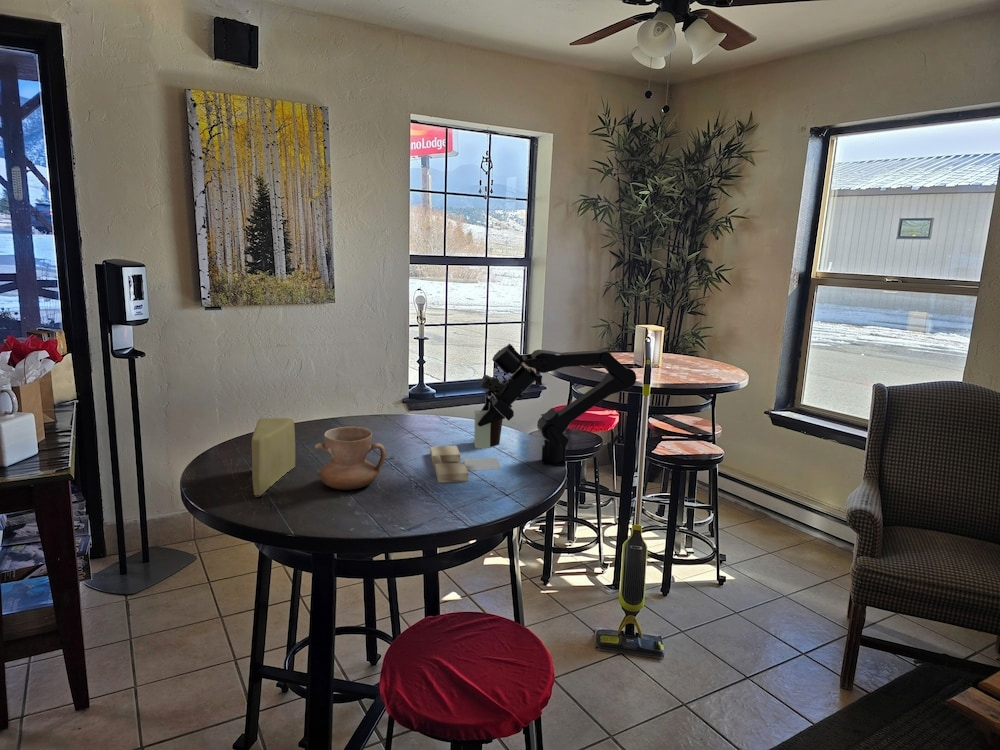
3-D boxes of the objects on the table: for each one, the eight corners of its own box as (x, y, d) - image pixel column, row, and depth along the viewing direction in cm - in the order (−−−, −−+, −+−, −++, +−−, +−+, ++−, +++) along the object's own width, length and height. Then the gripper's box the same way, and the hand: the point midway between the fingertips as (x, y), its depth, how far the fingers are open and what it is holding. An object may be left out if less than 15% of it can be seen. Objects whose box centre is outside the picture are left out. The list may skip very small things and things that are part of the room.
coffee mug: (500, 448, 200) (501, 417, 198) (473, 447, 202) (473, 416, 200) (506, 438, 212) (506, 408, 210) (480, 436, 213) (480, 407, 211)
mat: (496, 458, 191) (496, 457, 191) (502, 470, 182) (502, 469, 182) (463, 459, 190) (463, 458, 190) (466, 471, 180) (466, 470, 180)
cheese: (277, 498, 159) (274, 440, 156) (237, 499, 158) (233, 440, 155) (297, 467, 180) (294, 416, 178) (261, 468, 180) (258, 416, 177)
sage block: (487, 443, 187) (488, 410, 185) (490, 447, 183) (490, 414, 181) (474, 444, 186) (474, 410, 184) (476, 448, 182) (476, 414, 180)
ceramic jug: (311, 495, 161) (310, 441, 158) (319, 474, 175) (318, 424, 172) (384, 494, 163) (384, 441, 160) (386, 474, 177) (387, 424, 174)
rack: (456, 453, 195) (456, 445, 195) (468, 481, 172) (468, 472, 172) (430, 454, 194) (430, 446, 193) (438, 483, 171) (438, 474, 170)
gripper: (492, 359, 190) (454, 396, 190) (502, 371, 171) (461, 412, 172) (517, 385, 192) (480, 421, 193) (530, 400, 174) (489, 440, 175)
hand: (477, 423), depth 183 cm, fingers closed on sage block, 4 cm apart
